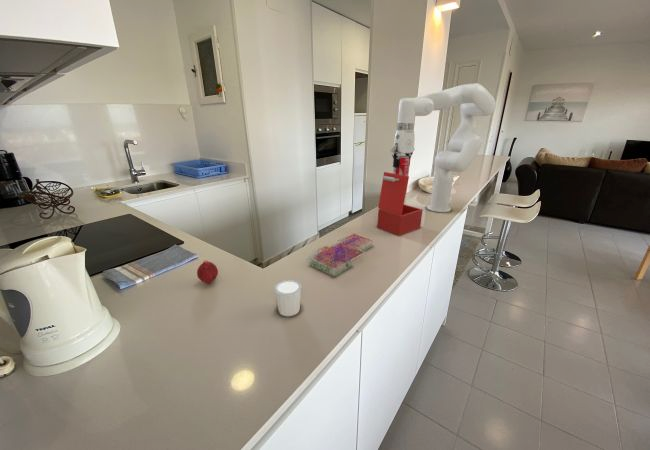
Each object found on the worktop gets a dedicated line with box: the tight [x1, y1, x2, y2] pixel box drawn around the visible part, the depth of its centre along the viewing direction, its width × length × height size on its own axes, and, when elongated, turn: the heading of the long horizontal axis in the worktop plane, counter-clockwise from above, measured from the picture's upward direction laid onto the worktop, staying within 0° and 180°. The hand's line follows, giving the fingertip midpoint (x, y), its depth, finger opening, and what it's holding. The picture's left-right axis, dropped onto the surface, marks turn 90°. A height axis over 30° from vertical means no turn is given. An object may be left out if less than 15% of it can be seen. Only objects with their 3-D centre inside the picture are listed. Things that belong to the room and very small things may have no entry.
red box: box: [376, 203, 423, 236], centre depth 127 cm, size 16×13×9 cm
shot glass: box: [274, 279, 302, 317], centre depth 72 cm, size 7×7×7 cm
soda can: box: [392, 154, 411, 176], centre depth 134 cm, size 7×7×13 cm
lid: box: [377, 171, 410, 216], centre depth 117 cm, size 16×13×5 cm
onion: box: [196, 259, 219, 284], centre depth 84 cm, size 6×6×8 cm
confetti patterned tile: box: [305, 232, 373, 277], centre depth 102 cm, size 30×15×5 cm, turn 137°
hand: (401, 166), depth 133 cm, fingers closed on soda can, 7 cm apart
